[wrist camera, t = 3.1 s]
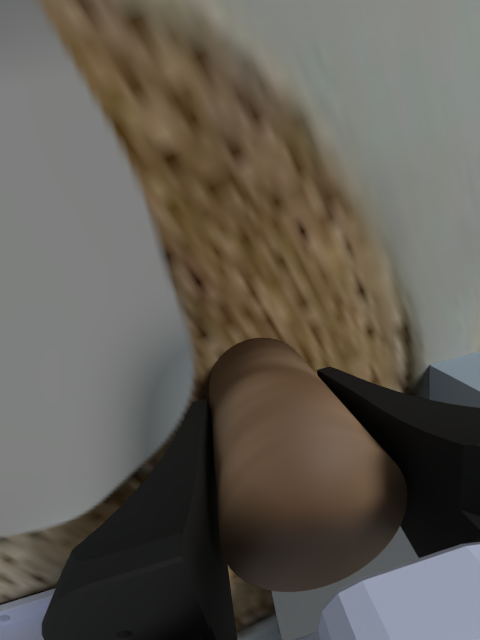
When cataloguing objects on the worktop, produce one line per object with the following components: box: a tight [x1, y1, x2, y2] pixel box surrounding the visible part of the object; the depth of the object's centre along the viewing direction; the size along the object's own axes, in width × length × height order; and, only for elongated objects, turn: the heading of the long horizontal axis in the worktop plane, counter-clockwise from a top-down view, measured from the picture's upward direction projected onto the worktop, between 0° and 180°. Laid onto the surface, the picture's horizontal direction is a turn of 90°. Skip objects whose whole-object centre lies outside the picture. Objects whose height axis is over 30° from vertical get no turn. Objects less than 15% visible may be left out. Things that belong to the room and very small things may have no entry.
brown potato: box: [209, 338, 408, 592], centre depth 10 cm, size 5×5×7 cm
